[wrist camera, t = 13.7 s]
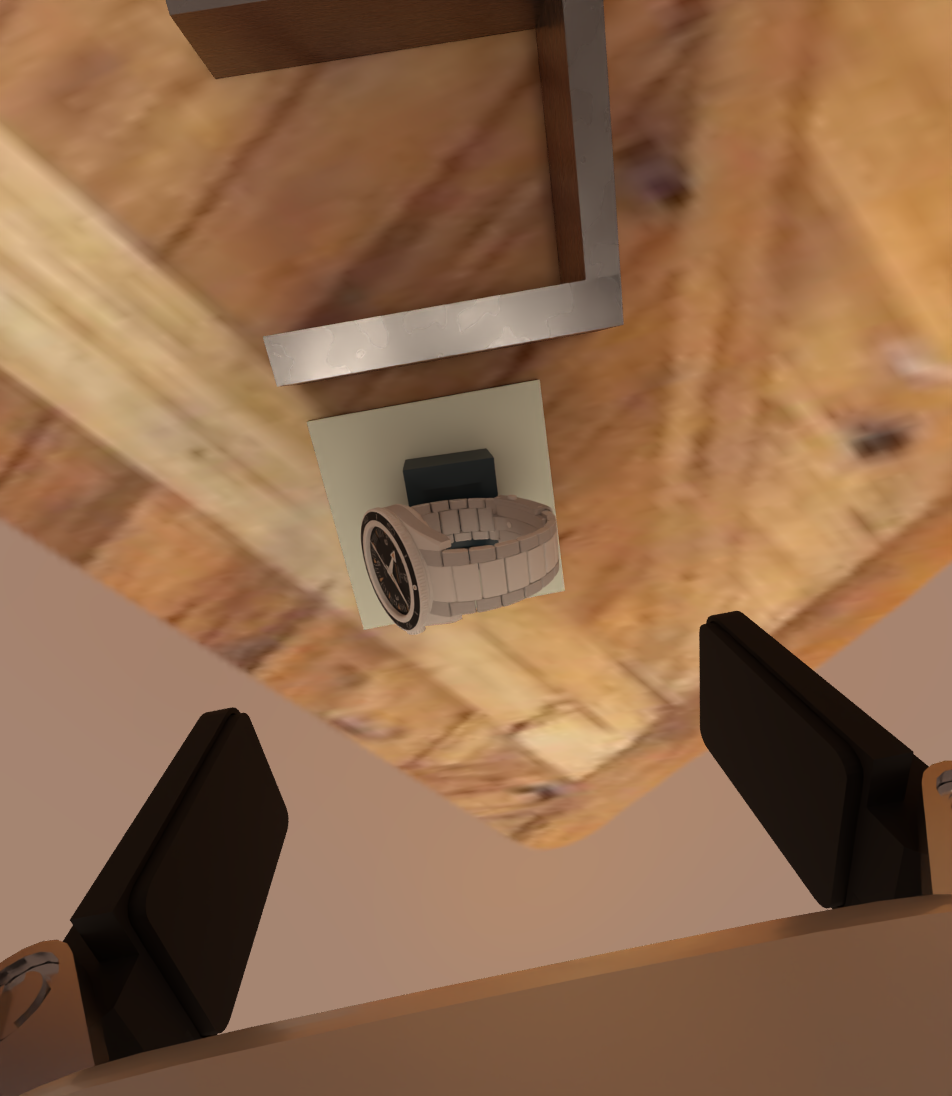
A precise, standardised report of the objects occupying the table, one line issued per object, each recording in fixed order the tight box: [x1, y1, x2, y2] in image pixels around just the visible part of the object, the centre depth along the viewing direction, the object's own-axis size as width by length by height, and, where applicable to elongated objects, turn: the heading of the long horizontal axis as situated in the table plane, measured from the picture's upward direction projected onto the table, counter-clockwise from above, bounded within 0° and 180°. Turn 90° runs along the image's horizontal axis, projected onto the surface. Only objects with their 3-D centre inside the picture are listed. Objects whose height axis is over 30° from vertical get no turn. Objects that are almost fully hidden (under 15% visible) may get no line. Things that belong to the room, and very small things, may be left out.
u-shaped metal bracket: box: [166, 0, 624, 386], centre depth 21 cm, size 14×15×4 cm
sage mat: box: [307, 380, 565, 630], centre depth 28 cm, size 12×12×1 cm
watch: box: [361, 448, 559, 635], centre depth 22 cm, size 6×8×11 cm
